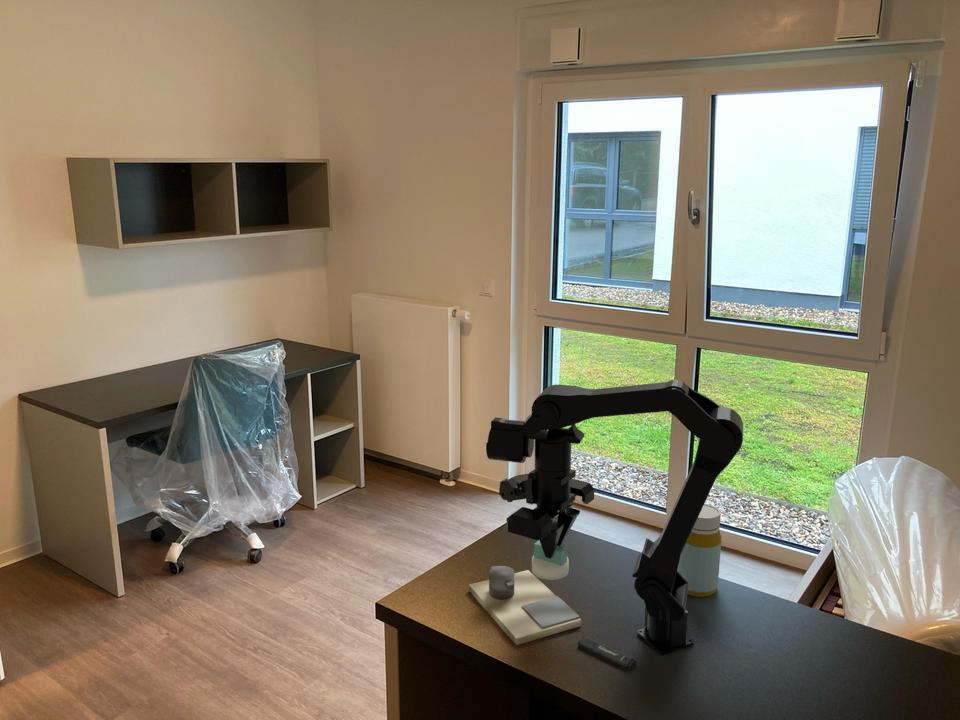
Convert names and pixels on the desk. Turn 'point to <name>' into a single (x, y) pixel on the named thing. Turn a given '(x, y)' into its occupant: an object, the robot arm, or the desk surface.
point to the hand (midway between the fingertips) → (551, 555)
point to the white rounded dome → (550, 563)
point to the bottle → (702, 554)
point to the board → (523, 605)
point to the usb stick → (607, 653)
